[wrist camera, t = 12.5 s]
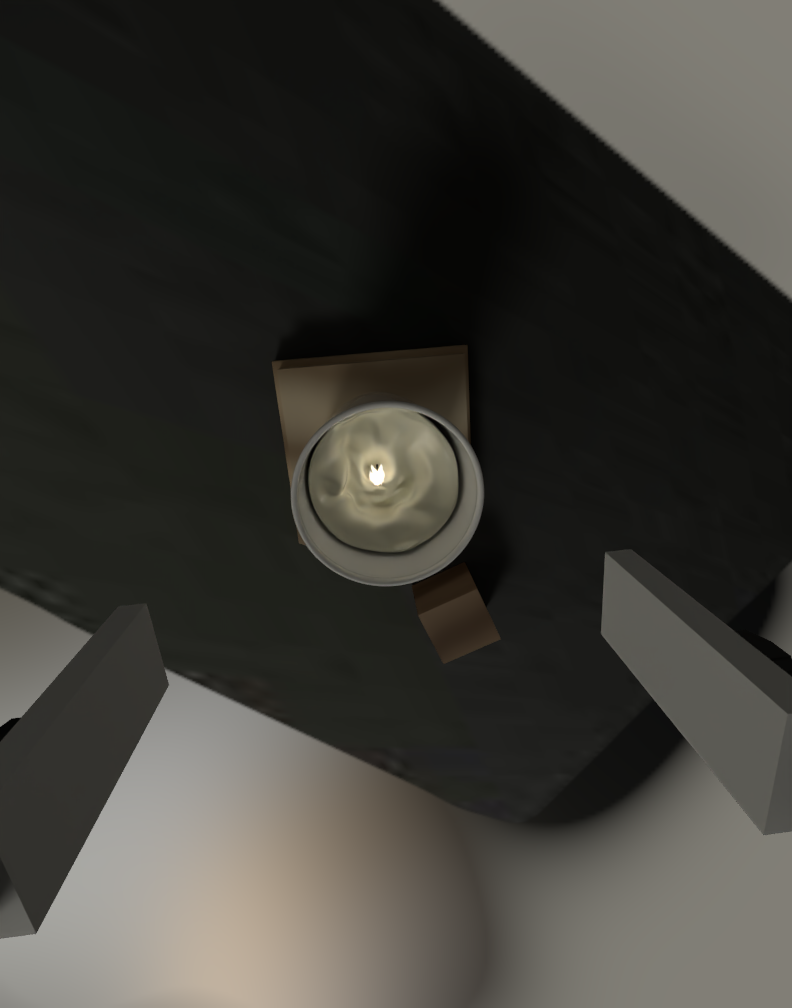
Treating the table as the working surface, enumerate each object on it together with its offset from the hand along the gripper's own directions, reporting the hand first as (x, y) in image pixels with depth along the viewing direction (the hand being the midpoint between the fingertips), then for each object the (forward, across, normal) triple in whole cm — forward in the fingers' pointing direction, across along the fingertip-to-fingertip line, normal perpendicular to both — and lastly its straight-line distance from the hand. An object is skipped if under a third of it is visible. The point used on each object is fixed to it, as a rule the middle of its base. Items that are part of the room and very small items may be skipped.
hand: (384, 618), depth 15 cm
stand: (+26, +1, -1) cm, 27 cm away
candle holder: (+24, +1, 0) cm, 24 cm away
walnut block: (+27, +6, -15) cm, 31 cm away
